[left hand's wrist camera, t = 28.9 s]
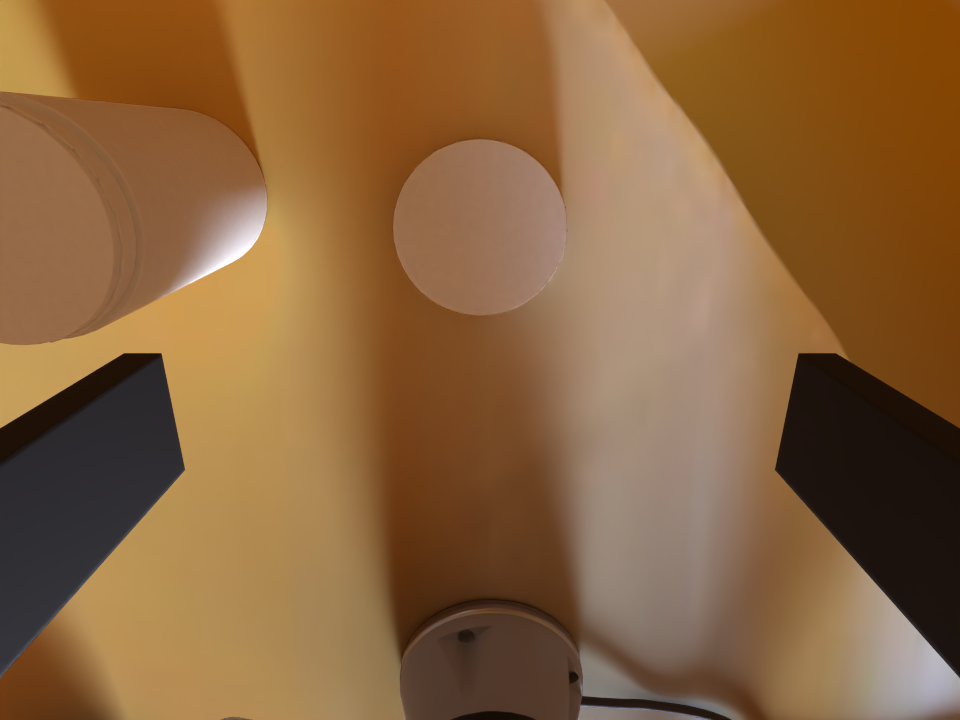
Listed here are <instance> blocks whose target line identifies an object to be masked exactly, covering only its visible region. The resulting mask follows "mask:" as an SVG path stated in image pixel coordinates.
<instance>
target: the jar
mask: <svg viewBox="0 0 960 720" xmlns="http://www.w3.org/2000/svg"><path fill="white" fill-rule="evenodd" d="M266 212H267V193H266V187H265V182H264V179H263V176H262V173H261V170H260V168H259V165H258V163H257V161H256V159H255V158H254V156H253V154H252V153H251V151H250V150H249V148H248V147H247V146H246V145H245V143H244V142H243V141H242V140H241V139H240V138H239V137H238V136H237V135H236V134H235V133H234V132H233V131H232V130H230V129H229V128H228V127H227V126H225V125H224V124H222V123H221V122H219V121H217V120H216V119H214V118H212V117H209V116H207V115H205V114H202V113H199V112H196V111H191V110H186V109H177V108H166V107H156V106H146V105H135V104H125V103H115V102H104V101H94V100H83V99H73V98H63V97H52V96H42V95H32V94H21V93H11V92H0V343H5V344H15V345H31V344H41V343H46V342H50V343H51V342H54V341H58V340H61V339H67V338H73V337H78V336H82V335H85V334H88V333H91V332H93V331H96V330H98V329H100V328H102V327H104V326H106V325H108V324H110V323H112V322H114V321H116V320H118V319H120V318H122V317H124V316H126V315H128V314H130V313H132V312H134V311H136V310H138V309H140V308H142V307H144V306H146V305H148V304H150V303H152V302H154V301H156V300H158V299H160V298H162V297H164V296H166V295H168V294H170V293H172V292H174V291H176V290H178V289H180V288H182V287H184V286H186V285H188V284H190V283H192V282H194V281H196V280H198V279H200V278H202V277H204V276H206V275H208V274H210V273H212V272H214V271H216V270H218V269H219V268H221V267H223V266H225V265H227V264H229V263H231V262H233V261H235V260H237V259H239V258H240V257H241V256H242V255H244V254H245V253H246V252H247V251H248V250H249V249H250V248H251V247H252V246H253V244H254V243H255V242H256V240H257V239H258V237H259V235H260V233H261V231H262V228H263V225H264V222H265V218H266Z"/></svg>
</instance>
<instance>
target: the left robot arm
mask: <svg viewBox="0 0 960 720" xmlns="http://www.w3.org/2000/svg"><path fill="white" fill-rule="evenodd" d="M184 470H185V468H184V463H183V458H182V453H181V448H180V443H179V438H178V433H177V428H176V423H175V418H174V413H173V408H172V403H171V398H170V394H169V389H168V384H167V379H166V374H165V369H164V364H163V359H162V354H161V353H124V354H122V355H121V356H119V357H117V358H116V359H114V360H112V361H111V362H109V363H107V364H106V365H104V366H103V367H101V368H99V369H98V370H96V371H94V372H93V373H91V374H89V375H88V376H86V377H84V378H83V379H81V380H79V381H78V382H76V383H74V384H73V385H71V386H70V387H68V388H66V389H65V390H63V391H61V392H60V393H58V394H56V395H55V396H53V397H51V398H50V399H48V400H46V401H45V402H43V403H41V404H40V405H38V406H37V407H35V408H33V409H32V410H30V411H28V412H27V413H25V414H23V415H22V416H20V417H18V418H17V419H15V420H13V421H12V422H10V423H8V424H7V425H5V426H4V427H2V428H0V678H1V676H2V675H3V674H4V673H5V672H6V671H7V670H8V669H9V667H10V666H11V665H12V664H13V663H14V662H15V661H16V660H17V658H18V657H19V656H20V655H21V654H22V653H23V652H24V651H25V649H26V648H27V647H28V646H29V645H30V644H31V643H32V642H33V640H34V639H35V638H36V637H37V636H38V635H39V634H40V633H41V631H42V630H43V629H44V628H45V627H46V626H47V625H48V624H49V622H50V621H51V620H52V619H53V618H54V617H55V616H56V614H57V613H58V612H59V611H60V610H61V609H62V608H63V607H64V605H65V604H66V603H67V602H68V601H69V600H70V599H71V598H72V596H73V595H74V594H75V593H76V592H77V591H78V590H79V589H80V587H81V586H82V585H83V584H84V583H85V582H86V581H87V580H88V578H89V577H90V576H91V575H92V574H93V573H94V572H95V571H96V569H97V568H98V567H99V566H100V565H101V564H102V563H103V562H104V560H105V559H106V558H107V557H108V556H109V555H110V554H111V553H112V551H113V550H114V549H115V548H116V547H117V546H118V545H119V544H120V542H121V541H122V540H123V539H124V538H125V537H126V536H127V535H128V533H129V532H130V531H131V530H132V529H133V528H134V527H135V526H136V524H137V523H138V522H139V521H140V520H141V519H142V518H143V517H144V515H145V514H146V513H147V512H148V511H149V510H150V509H151V508H152V506H153V505H154V504H155V503H156V502H157V501H158V500H159V499H160V497H161V496H162V495H163V494H164V493H165V492H166V491H167V490H168V488H169V487H170V486H171V485H172V484H173V483H174V482H175V481H176V479H177V478H178V477H179V476H180V475H181V474H182V473H183V472H184ZM775 470H776V472H777V473H778V474H779V475H780V476H781V477H782V478H783V479H784V481H785V482H786V483H787V484H788V485H789V486H790V487H791V488H792V490H793V491H794V492H795V493H796V494H797V495H798V496H799V497H800V499H801V500H802V501H803V502H804V503H805V504H806V505H807V506H808V508H809V509H810V510H811V511H812V512H813V513H814V514H815V515H816V517H817V518H818V519H819V520H820V521H821V522H822V523H823V524H824V526H825V527H826V528H827V529H828V530H829V531H830V532H831V533H832V535H833V536H834V537H835V538H836V539H837V540H838V541H839V542H840V544H841V545H842V546H843V547H844V548H845V549H846V550H847V551H848V553H849V554H850V555H851V556H852V557H853V558H854V559H855V560H856V562H857V563H858V564H859V565H860V566H861V567H862V568H863V569H864V571H865V572H866V573H867V574H868V575H869V576H870V577H871V578H872V580H873V581H874V582H875V583H876V584H877V585H878V586H879V587H880V589H881V590H882V591H883V592H884V593H885V594H886V595H887V596H888V598H889V599H890V600H891V601H892V602H893V603H894V604H895V605H896V607H897V608H898V609H899V610H900V611H901V612H902V613H903V614H904V616H905V617H906V618H907V619H908V620H909V621H910V622H911V624H912V625H913V626H914V627H915V628H916V629H917V630H918V631H919V633H920V634H921V635H922V636H923V637H924V638H925V639H926V640H927V642H928V643H929V644H930V645H931V646H932V647H933V648H934V649H935V651H936V652H937V653H938V654H939V655H940V656H941V657H942V658H943V660H944V661H945V662H946V663H947V664H948V665H949V666H950V667H951V669H952V670H953V671H954V672H955V673H956V674H957V675H958V676H959V678H960V428H958V427H956V426H955V425H953V424H952V423H950V422H948V421H947V420H945V419H943V418H942V417H940V416H938V415H937V414H935V413H933V412H932V411H930V410H928V409H927V408H925V407H923V406H922V405H920V404H919V403H917V402H915V401H914V400H912V399H910V398H909V397H907V396H905V395H904V394H902V393H900V392H899V391H897V390H895V389H894V388H892V387H890V386H889V385H887V384H885V383H884V382H882V381H881V380H879V379H877V378H876V377H874V376H872V375H871V374H869V373H867V372H866V371H864V370H862V369H861V368H859V367H857V366H856V365H854V364H853V363H851V362H849V361H848V360H846V359H844V358H843V357H841V356H839V355H838V354H836V353H799V354H798V359H797V364H796V369H795V374H794V379H793V384H792V389H791V394H790V398H789V403H788V408H787V413H786V418H785V423H784V428H783V433H782V438H781V443H780V448H779V453H778V458H777V463H776V467H775ZM582 690H583V676H582V669H581V664H580V658H579V654H578V650H577V648H576V645H575V643H574V641H573V640H572V638H571V636H570V635H569V634H568V632H567V631H566V630H565V629H564V628H563V627H562V626H561V625H560V624H559V623H558V622H557V621H556V620H554V619H553V618H551V617H550V616H549V615H547V614H545V613H543V612H542V611H539V610H537V609H535V608H533V607H530V606H527V605H524V604H520V603H516V602H510V601H502V600H480V601H472V602H468V603H463V604H459V605H456V606H453V607H451V608H448V609H446V610H444V611H442V612H440V613H438V614H436V615H434V616H433V617H431V618H430V619H429V620H427V621H426V622H425V623H424V624H423V625H421V626H420V627H419V628H418V630H417V631H416V632H415V633H414V634H413V636H412V637H411V639H410V640H409V642H408V644H407V646H406V649H405V651H404V655H403V660H402V666H401V674H400V692H401V700H402V704H403V708H404V713H405V718H406V720H578V716H579V710H580V706H583V707H597V708H613V709H644V710H653V711H661V712H668V713H675V714H682V715H688V716H693V717H698V718H702V719H706V720H731V719H729V718H727V717H724V716H722V715H719V714H717V713H714V712H711V711H708V710H704V709H700V708H696V707H691V706H686V705H680V704H673V703H666V702H658V701H651V700H642V699H613V698H598V697H585V696H582ZM221 720H251V719H245V718H240V717H228V718H224V719H221Z"/></svg>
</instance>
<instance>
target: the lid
mask: <svg viewBox="0 0 960 720" xmlns="http://www.w3.org/2000/svg"><path fill="white" fill-rule="evenodd" d="M433 152H434V153H433V154H431V155H430V156H428V157H427V158H426V159H424V160H423V161H422V162H421V163H420V164H419V165H417V166H416V168H415V169H414V171H413V172H412V173H411V175H410V176H409V177H408V179H407V181H406V182H405V184H404V185H402V190H401V192H400V194H399V197H398V200H397V203H396V207H395V208H394V209H395V212H394V219H393V235H394V243H395V247H396V251H397V255H398V257H399V260H400V263H401V265H402V267H403V269H404V271H405V272H406V274H407V276H408V277H409V279H410V280H411V281H412V283H413V284H414V285H415V286H416V287H417V288H418V289H419V290H420V291H421V292H422V293H423V294H424V295H425V296H426V297H428V298H429V299H430V300H432V301H433V302H435V303H437V304H438V305H440V306H442V307H444V308H447V309H449V310H452V311H455V312H458V313H463V314H468V315H492V314H497V313H502V312H505V311H508V310H511V309H514V308H516V307H518V306H520V305H522V304H524V303H525V302H527V301H528V300H530V299H531V298H533V297H534V296H535V295H536V294H537V293H539V292H540V291H541V290H542V288H543V287H544V286H545V285H546V284H547V283H548V282H549V280H550V279H551V277H552V276H553V275H554V273H555V271H556V269H557V267H558V265H559V263H560V260H561V258H562V255H563V253H564V248H565V244H566V236H567V218H566V211H565V208H566V207H565V206H564V203H563V199H562V196H561V194H560V192H559V189H558V187H557V186H558V185H557V184H556V183H555V182H554V180H553V179H552V177H551V175H550V174H549V173H548V172H547V171H546V169H545V168H544V165H542V164H540V163H539V162H538V161H537V160H536V159H535V158H533V157H532V156H530V155H529V154H528V153H526V150H521V149H519V148H517V147H515V146H513V145H510V144H507V143H504V141H502V142H500V141H495V140H488V139H481V138H479V139H472V140H465V141H460V142H458V141H455V143H453V144H450V145H448V146H445V147H443V148H441V149H439V150H438V151H437V150H435V151H433Z"/></svg>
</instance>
